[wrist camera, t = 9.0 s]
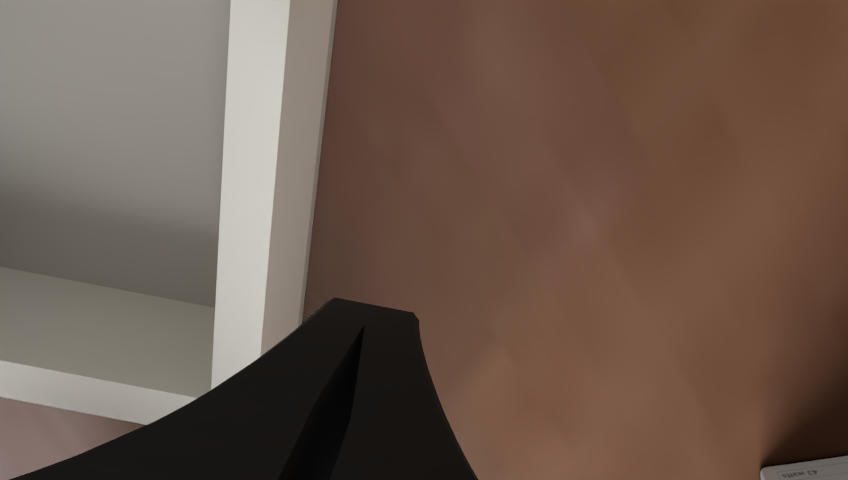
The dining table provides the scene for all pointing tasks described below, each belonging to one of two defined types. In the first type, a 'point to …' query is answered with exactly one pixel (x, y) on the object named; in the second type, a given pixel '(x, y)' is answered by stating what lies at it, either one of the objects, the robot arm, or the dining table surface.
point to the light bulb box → (809, 470)
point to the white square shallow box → (154, 193)
